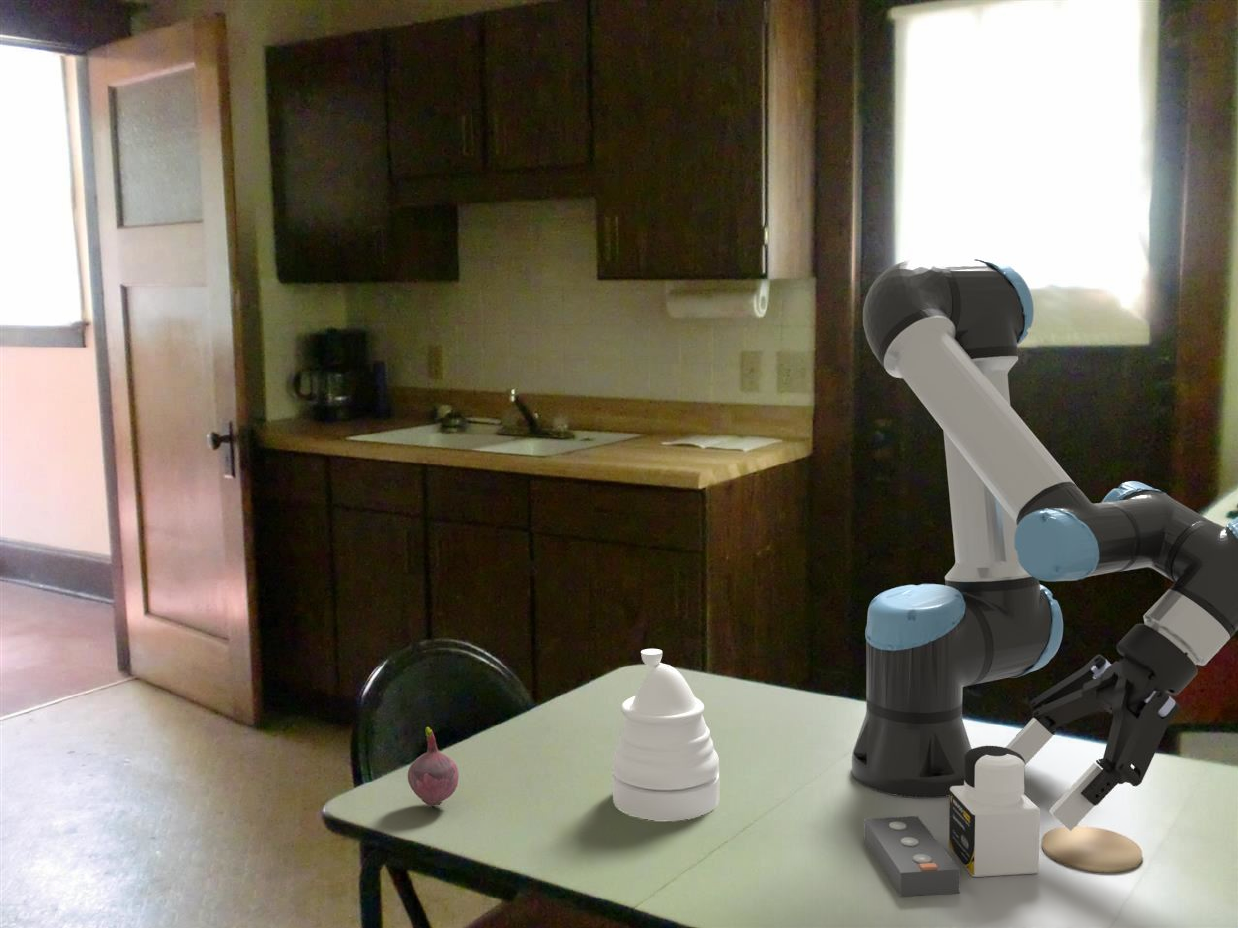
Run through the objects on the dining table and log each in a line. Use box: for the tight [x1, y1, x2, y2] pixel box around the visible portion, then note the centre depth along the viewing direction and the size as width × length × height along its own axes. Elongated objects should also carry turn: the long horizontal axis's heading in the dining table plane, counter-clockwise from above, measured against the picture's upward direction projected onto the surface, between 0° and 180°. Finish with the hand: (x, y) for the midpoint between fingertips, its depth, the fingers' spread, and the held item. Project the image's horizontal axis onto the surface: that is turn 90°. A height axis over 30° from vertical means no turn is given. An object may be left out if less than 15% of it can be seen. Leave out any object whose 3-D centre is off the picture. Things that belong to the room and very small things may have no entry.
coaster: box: [1041, 825, 1143, 873], centre depth 129 cm, size 10×10×1 cm
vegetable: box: [407, 726, 459, 807], centre depth 143 cm, size 6×6×10 cm
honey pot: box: [611, 648, 720, 822], centre depth 144 cm, size 13×13×18 cm
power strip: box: [863, 815, 961, 898], centre depth 126 cm, size 13×6×3 cm, turn 5°
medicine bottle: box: [948, 745, 1041, 878], centre depth 126 cm, size 7×7×12 cm
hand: (1029, 794), depth 125 cm, fingers open, 13 cm apart
